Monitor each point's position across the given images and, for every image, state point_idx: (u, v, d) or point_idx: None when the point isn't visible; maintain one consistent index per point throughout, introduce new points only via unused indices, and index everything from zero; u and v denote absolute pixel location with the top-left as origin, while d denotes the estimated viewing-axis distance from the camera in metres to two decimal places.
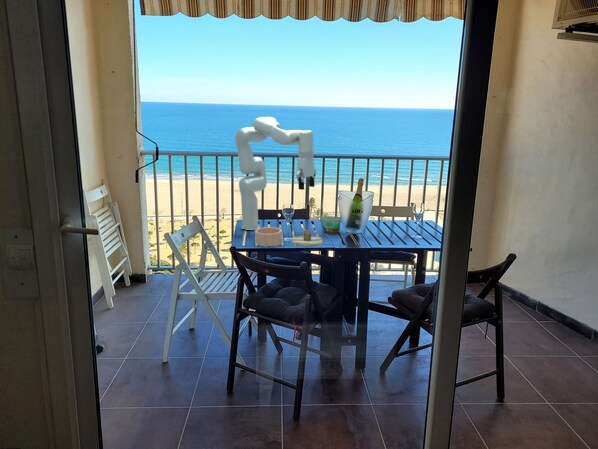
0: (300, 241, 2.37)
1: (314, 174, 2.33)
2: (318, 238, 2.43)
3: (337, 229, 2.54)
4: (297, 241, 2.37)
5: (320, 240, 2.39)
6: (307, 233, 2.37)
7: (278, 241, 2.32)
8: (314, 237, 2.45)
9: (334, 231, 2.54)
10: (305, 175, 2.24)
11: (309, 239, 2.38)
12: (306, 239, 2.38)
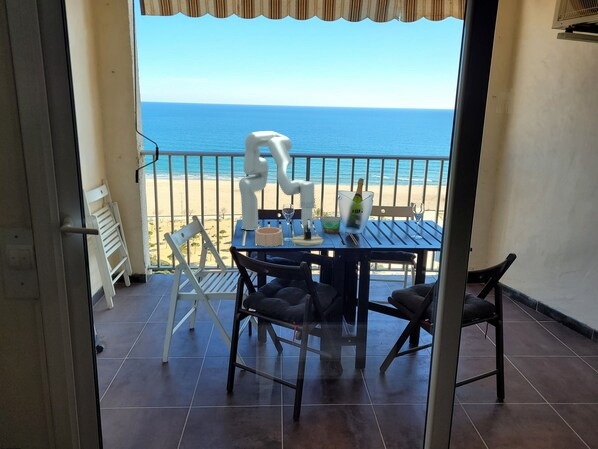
0: (301, 241, 2.36)
1: None
2: (318, 237, 2.42)
3: (337, 229, 2.54)
4: (297, 240, 2.37)
5: (320, 239, 2.39)
6: None
7: (278, 241, 2.32)
8: (315, 236, 2.45)
9: (334, 231, 2.54)
10: None
11: None
12: None
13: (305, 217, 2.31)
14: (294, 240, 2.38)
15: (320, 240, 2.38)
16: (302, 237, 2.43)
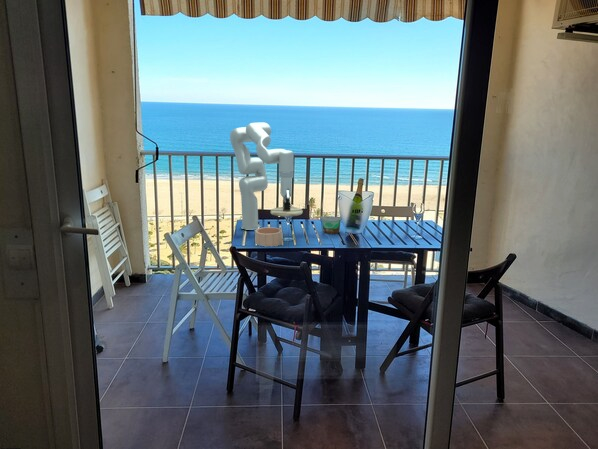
0: (280, 212, 2.31)
1: (287, 195, 2.37)
2: (298, 209, 2.37)
3: (337, 229, 2.54)
4: (276, 211, 2.32)
5: (300, 210, 2.34)
6: None
7: (278, 241, 2.32)
8: (294, 208, 2.40)
9: (334, 231, 2.54)
10: (291, 194, 2.29)
11: None
12: None
13: (284, 187, 2.26)
14: (273, 211, 2.33)
15: (299, 211, 2.33)
16: (281, 208, 2.38)
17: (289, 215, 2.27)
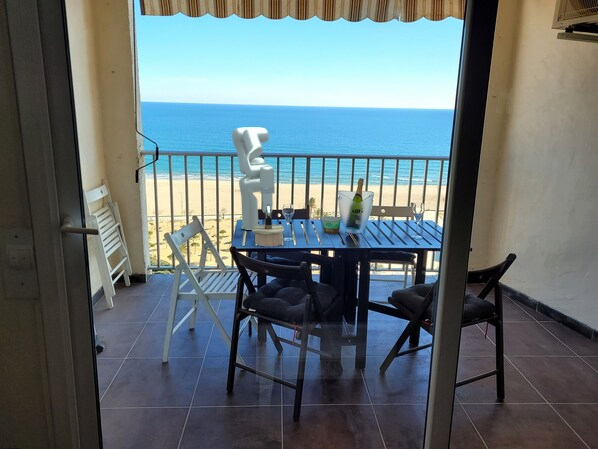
0: (261, 230, 2.32)
1: None
2: (280, 227, 2.38)
3: (337, 229, 2.54)
4: (257, 229, 2.33)
5: (281, 228, 2.34)
6: None
7: (278, 241, 2.32)
8: (276, 225, 2.40)
9: (334, 231, 2.54)
10: None
11: (270, 227, 2.34)
12: (266, 227, 2.34)
13: (264, 203, 2.27)
14: (254, 229, 2.34)
15: (281, 229, 2.33)
16: (263, 226, 2.39)
17: (270, 233, 2.28)
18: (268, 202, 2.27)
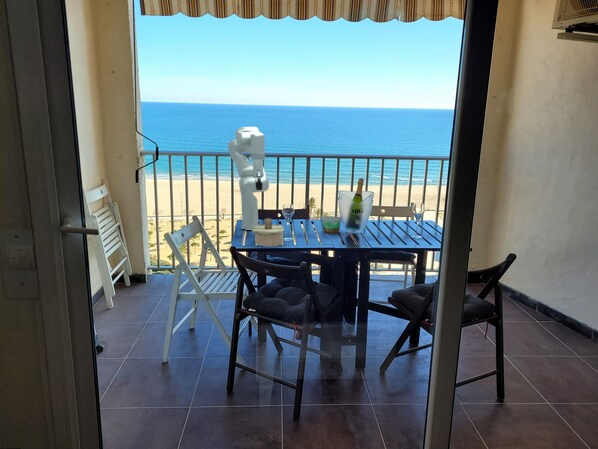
0: (261, 230, 2.32)
1: None
2: (280, 227, 2.38)
3: (337, 229, 2.54)
4: (257, 229, 2.33)
5: (281, 228, 2.34)
6: (268, 221, 2.33)
7: (278, 241, 2.32)
8: (276, 225, 2.40)
9: (334, 231, 2.54)
10: (262, 176, 2.34)
11: (270, 227, 2.34)
12: (266, 227, 2.34)
13: (255, 168, 2.32)
14: (254, 229, 2.34)
15: (281, 229, 2.33)
16: (263, 226, 2.39)
17: (270, 233, 2.28)
18: (258, 168, 2.32)
